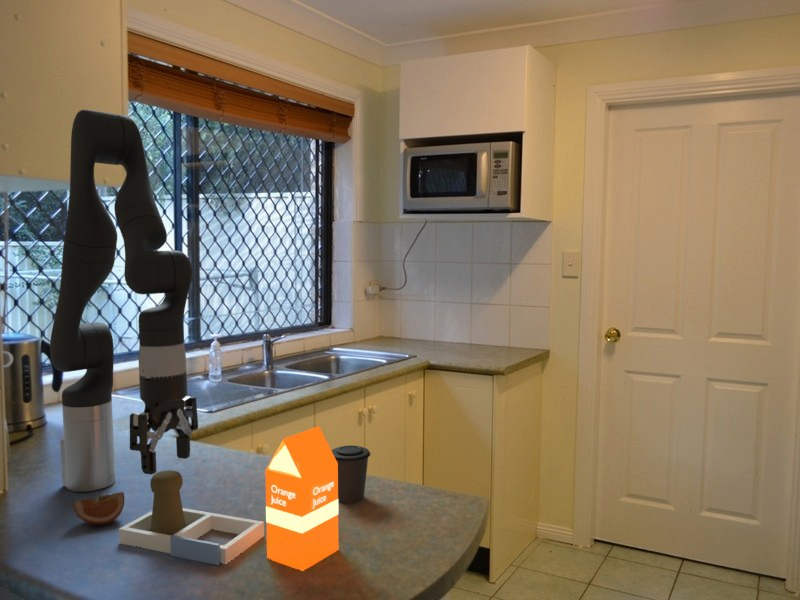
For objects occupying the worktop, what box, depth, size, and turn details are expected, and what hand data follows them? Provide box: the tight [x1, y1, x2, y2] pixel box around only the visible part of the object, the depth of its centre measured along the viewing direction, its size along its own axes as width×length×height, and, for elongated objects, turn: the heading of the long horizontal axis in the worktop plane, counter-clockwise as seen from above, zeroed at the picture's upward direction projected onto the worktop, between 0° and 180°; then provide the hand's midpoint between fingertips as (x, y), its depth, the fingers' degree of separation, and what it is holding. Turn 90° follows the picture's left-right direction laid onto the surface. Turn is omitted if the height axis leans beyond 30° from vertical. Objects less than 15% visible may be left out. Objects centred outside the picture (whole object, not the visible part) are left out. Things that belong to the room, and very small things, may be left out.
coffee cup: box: [331, 445, 371, 505], centre depth 134 cm, size 8×8×10 cm
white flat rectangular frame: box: [118, 507, 265, 566], centre depth 116 cm, size 21×12×3 cm, turn 69°
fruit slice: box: [72, 491, 125, 526], centre depth 124 cm, size 8×7×5 cm
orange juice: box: [264, 425, 340, 572], centre depth 110 cm, size 8×9×20 cm
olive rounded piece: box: [149, 469, 187, 536], centre depth 118 cm, size 6×6×11 cm
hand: (167, 465), depth 117 cm, fingers open, 8 cm apart
